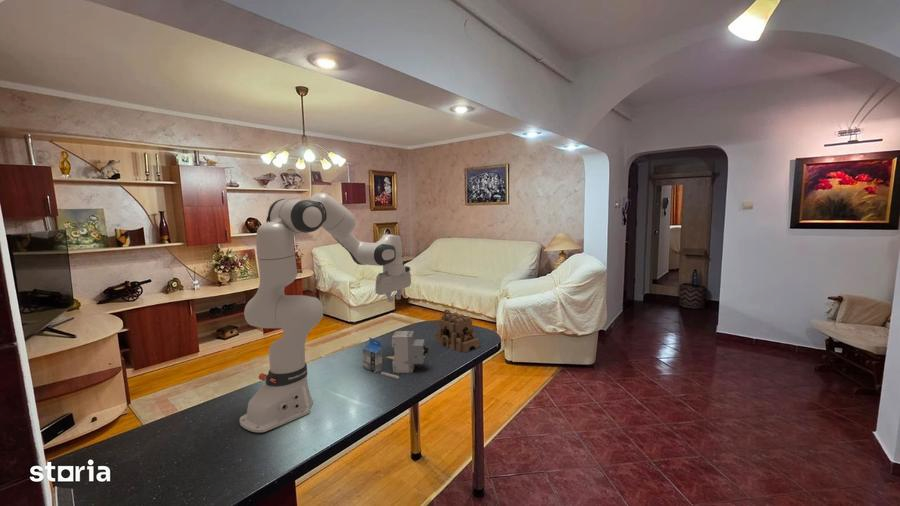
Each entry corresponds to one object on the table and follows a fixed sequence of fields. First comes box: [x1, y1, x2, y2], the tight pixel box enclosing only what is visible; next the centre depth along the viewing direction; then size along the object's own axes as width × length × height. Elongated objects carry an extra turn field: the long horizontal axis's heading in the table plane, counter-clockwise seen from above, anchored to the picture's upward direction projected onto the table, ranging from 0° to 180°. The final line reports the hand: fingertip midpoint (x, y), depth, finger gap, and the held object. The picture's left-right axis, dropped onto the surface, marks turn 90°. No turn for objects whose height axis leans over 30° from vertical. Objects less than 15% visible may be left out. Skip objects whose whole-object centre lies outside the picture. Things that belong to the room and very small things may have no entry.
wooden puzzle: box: [434, 309, 480, 353], centre depth 176 cm, size 22×15×19 cm, turn 41°
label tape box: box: [362, 337, 383, 374], centre depth 149 cm, size 9×4×12 cm, turn 48°
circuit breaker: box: [391, 330, 429, 374], centre depth 148 cm, size 8×14×15 cm, turn 89°
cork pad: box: [385, 355, 395, 361], centre depth 162 cm, size 7×10×1 cm
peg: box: [380, 371, 400, 380], centre depth 142 cm, size 1×9×1 cm, turn 58°
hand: (394, 300), depth 159 cm, fingers open, 4 cm apart
